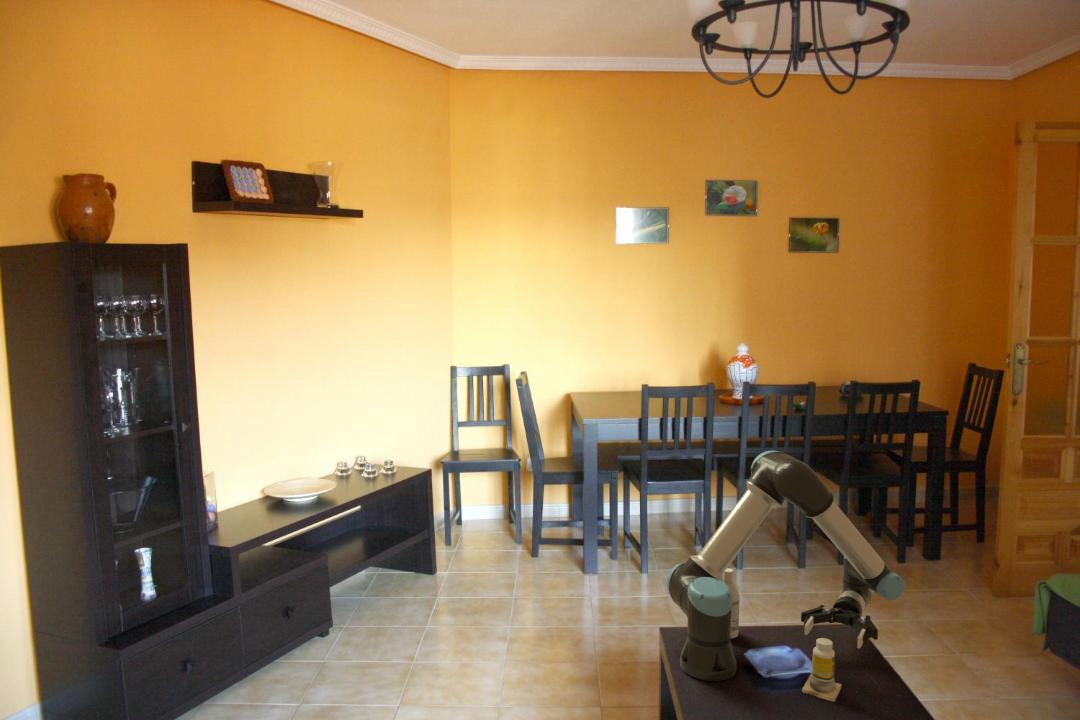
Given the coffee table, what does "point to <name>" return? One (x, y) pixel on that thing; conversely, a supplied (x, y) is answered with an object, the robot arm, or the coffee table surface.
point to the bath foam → (736, 600)
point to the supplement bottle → (823, 660)
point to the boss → (822, 688)
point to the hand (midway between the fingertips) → (831, 636)
